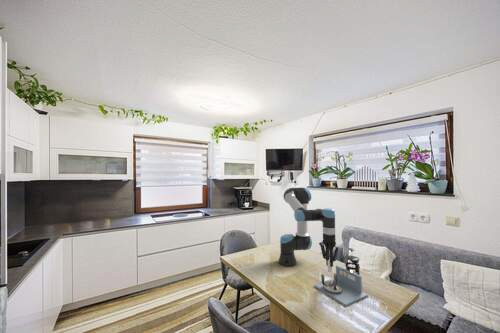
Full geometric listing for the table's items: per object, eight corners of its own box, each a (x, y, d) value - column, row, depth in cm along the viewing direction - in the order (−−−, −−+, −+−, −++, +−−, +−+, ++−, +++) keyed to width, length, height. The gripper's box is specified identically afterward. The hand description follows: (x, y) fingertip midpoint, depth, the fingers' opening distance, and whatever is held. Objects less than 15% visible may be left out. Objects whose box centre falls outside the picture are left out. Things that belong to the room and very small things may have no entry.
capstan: (327, 294, 122) (327, 281, 123) (319, 283, 134) (319, 272, 135) (346, 293, 123) (346, 280, 124) (337, 283, 135) (336, 271, 135)
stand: (314, 286, 134) (313, 269, 134) (334, 279, 143) (334, 263, 144) (345, 306, 112) (344, 286, 113) (367, 296, 122) (366, 277, 122)
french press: (354, 288, 132) (353, 252, 133) (342, 281, 140) (340, 248, 141) (365, 283, 137) (363, 249, 139) (352, 277, 145) (351, 245, 147)
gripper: (316, 232, 129) (317, 269, 128) (336, 237, 120) (337, 277, 119) (322, 230, 134) (323, 265, 133) (341, 234, 125) (342, 272, 124)
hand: (329, 271), depth 126 cm, fingers closed
